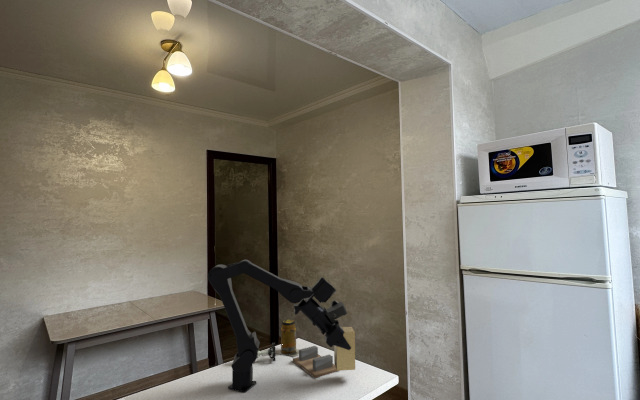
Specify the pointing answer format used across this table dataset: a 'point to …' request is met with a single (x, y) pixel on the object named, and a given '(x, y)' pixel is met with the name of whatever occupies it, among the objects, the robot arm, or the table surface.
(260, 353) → the valve
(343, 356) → the brass block
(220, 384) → the table surface
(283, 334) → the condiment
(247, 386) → the robot arm
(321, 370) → the vise
